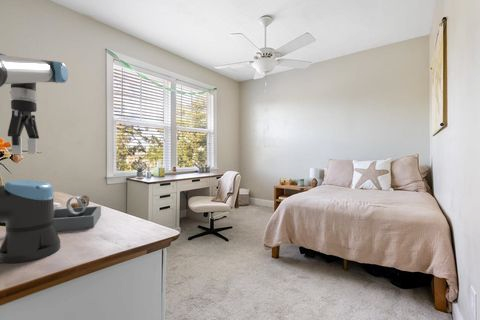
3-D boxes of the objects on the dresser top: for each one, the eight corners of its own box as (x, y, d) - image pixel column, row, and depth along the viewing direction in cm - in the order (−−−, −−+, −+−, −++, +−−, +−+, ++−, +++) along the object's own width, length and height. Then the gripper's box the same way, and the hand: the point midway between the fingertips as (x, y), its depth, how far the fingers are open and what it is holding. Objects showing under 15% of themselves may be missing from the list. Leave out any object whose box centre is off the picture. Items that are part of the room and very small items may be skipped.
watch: (83, 221, 107) (82, 197, 107) (63, 222, 107) (63, 197, 106) (89, 218, 113) (89, 195, 113) (71, 218, 112) (71, 195, 112)
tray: (93, 227, 103) (93, 216, 103) (36, 233, 95) (35, 220, 95) (100, 215, 121) (100, 206, 121) (53, 219, 114) (52, 209, 114)
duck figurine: (61, 216, 126) (61, 198, 131) (61, 210, 121) (61, 191, 126) (31, 220, 119) (32, 200, 124) (30, 214, 114) (31, 193, 119)
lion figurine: (82, 210, 131) (81, 194, 130) (91, 210, 131) (91, 194, 131) (63, 218, 116) (63, 200, 116) (75, 218, 116) (75, 200, 116)
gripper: (26, 105, 105) (27, 153, 105) (-7, 92, 82) (-5, 154, 82) (47, 106, 107) (47, 153, 108) (21, 95, 84) (22, 154, 85)
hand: (25, 154), depth 95 cm, fingers open, 13 cm apart
